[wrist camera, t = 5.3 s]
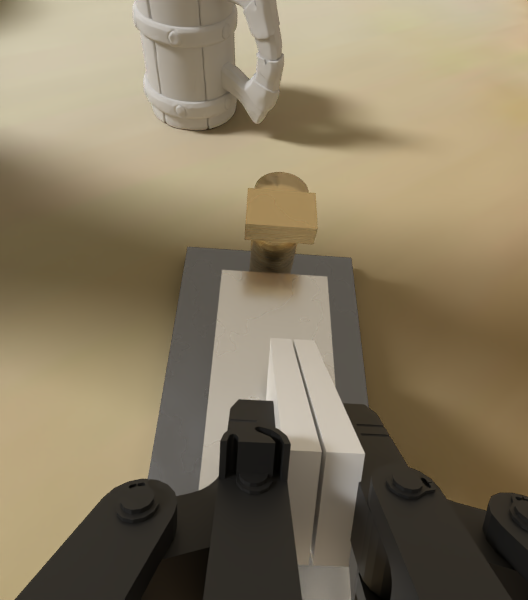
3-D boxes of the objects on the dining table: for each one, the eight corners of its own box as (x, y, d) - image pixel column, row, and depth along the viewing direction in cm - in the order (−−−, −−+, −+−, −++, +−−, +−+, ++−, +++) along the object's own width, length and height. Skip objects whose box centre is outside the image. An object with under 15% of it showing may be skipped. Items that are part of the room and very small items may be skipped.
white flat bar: (356, 873, 10) (380, 939, 8) (162, 876, 9) (149, 943, 8) (321, 293, 19) (328, 272, 18) (222, 287, 19) (221, 265, 17)
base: (415, 904, 11) (637, 1367, 5) (81, 909, 11) (-120, 1423, 5) (347, 267, 24) (387, 176, 18) (189, 256, 23) (173, 159, 17)
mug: (186, 70, 34) (167, -125, 24) (298, 119, 32) (329, -76, 21) (128, 108, 31) (74, -101, 20) (247, 168, 28) (255, -38, 18)
